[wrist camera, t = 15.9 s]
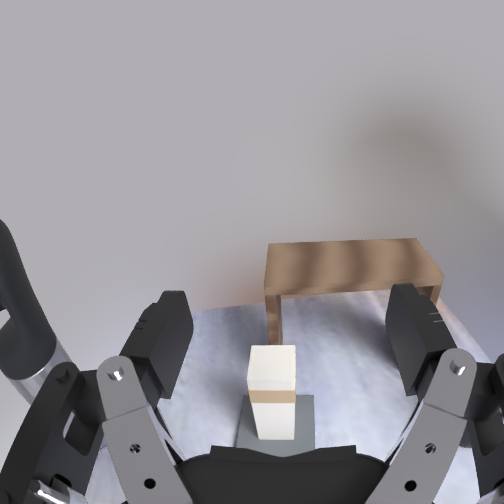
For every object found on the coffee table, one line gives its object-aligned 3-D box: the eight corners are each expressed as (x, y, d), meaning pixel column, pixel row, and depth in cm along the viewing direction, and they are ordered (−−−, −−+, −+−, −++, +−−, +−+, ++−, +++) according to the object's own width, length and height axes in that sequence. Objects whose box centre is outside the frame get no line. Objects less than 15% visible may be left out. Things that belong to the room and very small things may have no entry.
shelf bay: (272, 383, 41) (264, 285, 33) (275, 337, 50) (268, 243, 41) (410, 372, 38) (444, 275, 30) (396, 330, 47) (416, 238, 38)
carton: (258, 439, 32) (246, 379, 25) (261, 411, 36) (251, 345, 29) (294, 440, 31) (296, 379, 25) (295, 411, 35) (295, 344, 29)
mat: (235, 457, 30) (234, 455, 30) (244, 398, 39) (243, 395, 39) (314, 458, 29) (315, 456, 29) (313, 398, 38) (313, 395, 37)
